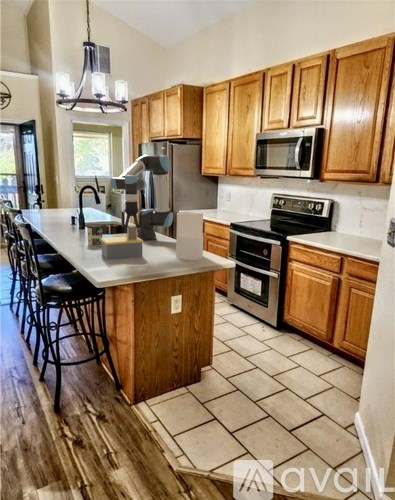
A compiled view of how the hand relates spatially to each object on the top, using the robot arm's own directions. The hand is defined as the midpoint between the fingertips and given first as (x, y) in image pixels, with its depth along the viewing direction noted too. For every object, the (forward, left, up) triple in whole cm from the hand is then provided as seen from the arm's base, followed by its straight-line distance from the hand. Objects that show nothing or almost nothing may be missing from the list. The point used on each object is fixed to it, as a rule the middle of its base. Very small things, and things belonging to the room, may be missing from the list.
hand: (131, 238), depth 223 cm
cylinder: (-33, +15, -12) cm, 39 cm away
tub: (+7, 0, -12) cm, 13 cm away
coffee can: (+15, -39, -12) cm, 43 cm away
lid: (+7, 0, -3) cm, 7 cm away
